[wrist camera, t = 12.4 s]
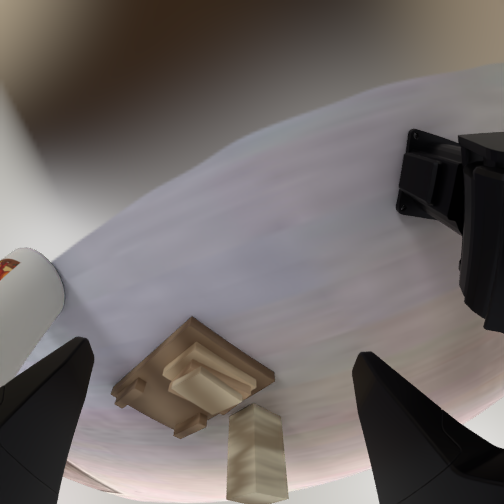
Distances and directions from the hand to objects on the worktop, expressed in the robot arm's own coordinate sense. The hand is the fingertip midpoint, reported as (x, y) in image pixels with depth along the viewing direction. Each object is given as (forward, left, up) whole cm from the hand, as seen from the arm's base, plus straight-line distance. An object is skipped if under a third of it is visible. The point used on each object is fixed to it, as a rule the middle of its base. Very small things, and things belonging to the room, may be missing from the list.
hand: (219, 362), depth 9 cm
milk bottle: (+19, +7, -13) cm, 24 cm away
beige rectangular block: (-3, +23, -13) cm, 27 cm away
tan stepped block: (+4, +18, -13) cm, 22 cm away
